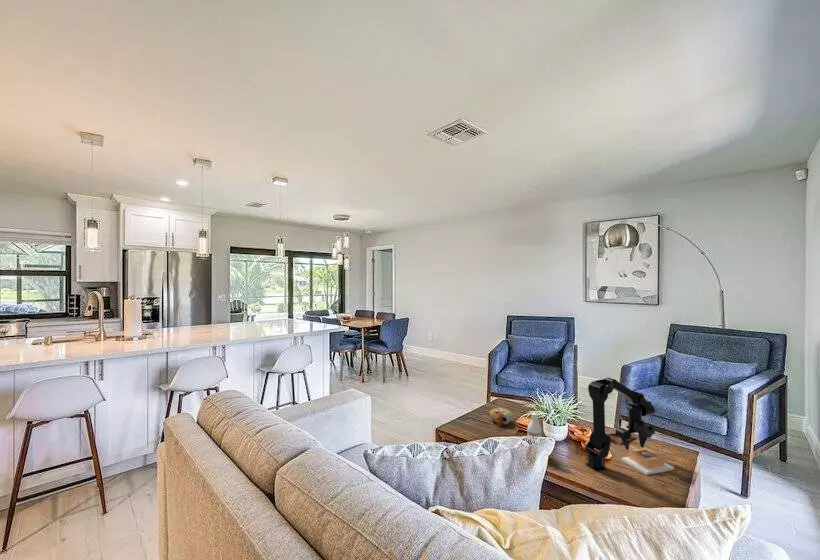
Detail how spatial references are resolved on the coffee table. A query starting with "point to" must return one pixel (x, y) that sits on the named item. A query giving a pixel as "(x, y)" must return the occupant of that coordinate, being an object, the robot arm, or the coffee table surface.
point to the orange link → (648, 463)
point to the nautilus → (501, 416)
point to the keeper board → (645, 470)
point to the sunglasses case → (618, 439)
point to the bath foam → (534, 426)
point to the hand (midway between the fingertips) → (634, 448)
